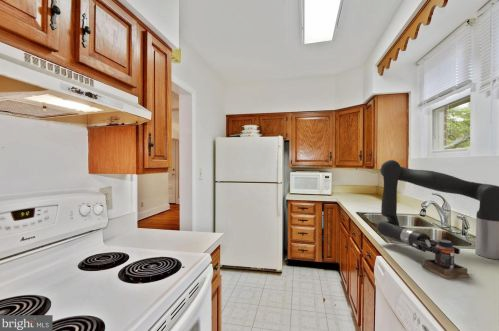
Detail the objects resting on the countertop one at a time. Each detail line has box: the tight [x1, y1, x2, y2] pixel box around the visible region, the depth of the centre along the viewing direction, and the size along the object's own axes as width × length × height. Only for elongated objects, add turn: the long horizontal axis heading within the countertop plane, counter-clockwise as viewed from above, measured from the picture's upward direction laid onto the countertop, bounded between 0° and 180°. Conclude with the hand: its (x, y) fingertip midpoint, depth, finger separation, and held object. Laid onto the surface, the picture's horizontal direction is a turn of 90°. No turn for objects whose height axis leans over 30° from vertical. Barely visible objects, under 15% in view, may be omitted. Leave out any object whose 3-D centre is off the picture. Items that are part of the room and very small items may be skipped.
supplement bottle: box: [434, 239, 455, 269], centre depth 96 cm, size 6×6×11 cm
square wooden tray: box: [421, 258, 470, 280], centre depth 96 cm, size 10×10×3 cm
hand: (449, 252), depth 94 cm, fingers open, 8 cm apart
